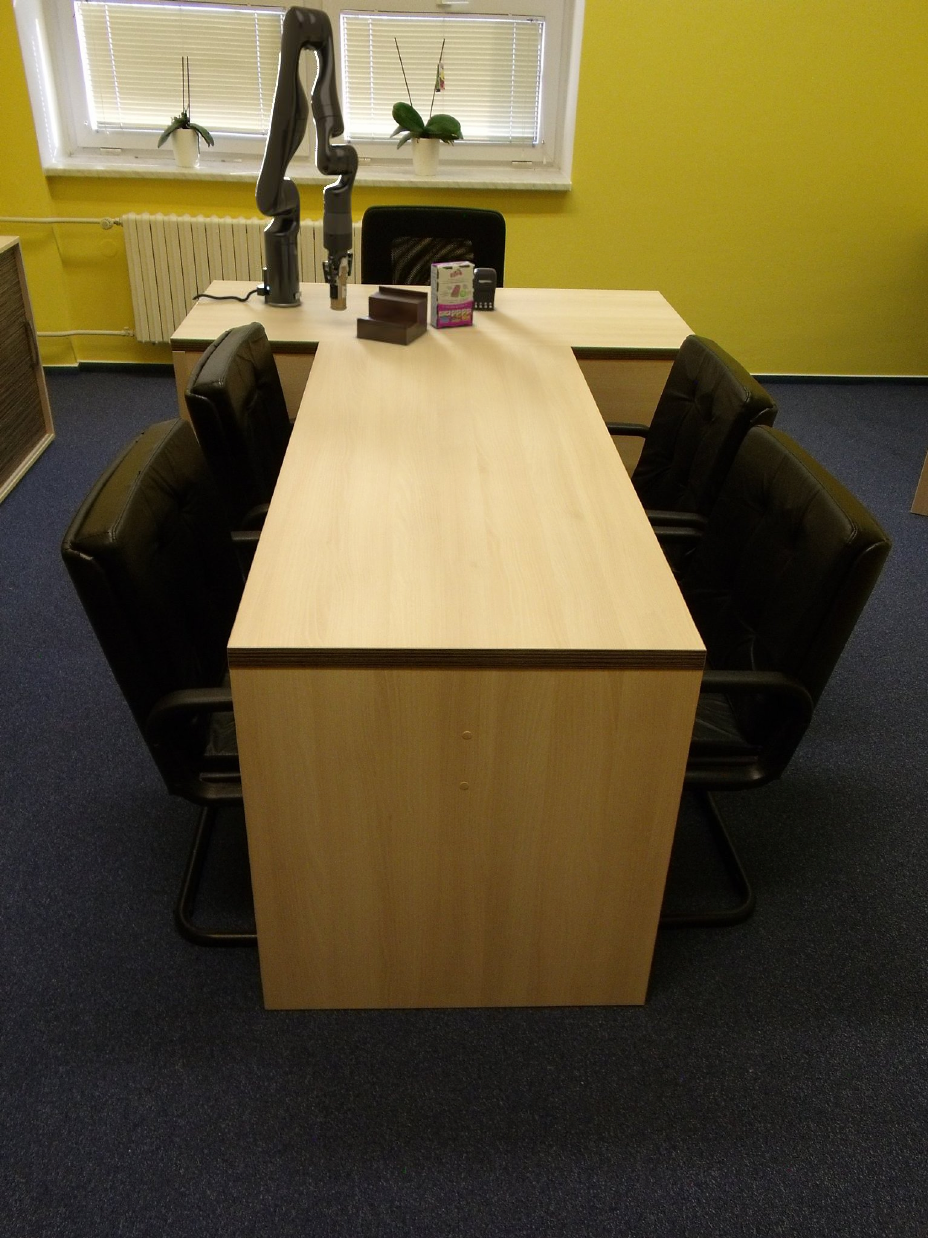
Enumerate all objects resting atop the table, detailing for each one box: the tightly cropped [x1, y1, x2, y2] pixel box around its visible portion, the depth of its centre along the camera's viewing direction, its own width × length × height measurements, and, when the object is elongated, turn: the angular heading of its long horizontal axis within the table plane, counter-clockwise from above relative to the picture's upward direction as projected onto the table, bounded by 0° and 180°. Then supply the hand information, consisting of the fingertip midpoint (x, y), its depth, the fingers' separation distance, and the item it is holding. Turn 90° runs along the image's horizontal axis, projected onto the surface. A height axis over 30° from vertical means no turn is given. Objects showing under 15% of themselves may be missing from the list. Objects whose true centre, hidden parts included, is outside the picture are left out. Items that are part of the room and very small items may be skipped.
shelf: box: [356, 285, 429, 346], centre depth 267 cm, size 14×15×10 cm
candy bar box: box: [429, 260, 476, 330], centre depth 275 cm, size 11×5×16 cm, turn 115°
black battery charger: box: [473, 267, 498, 311], centre depth 291 cm, size 7×4×11 cm, turn 95°
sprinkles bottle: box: [329, 257, 348, 312], centre depth 267 cm, size 5×5×14 cm
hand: (338, 296), depth 269 cm, fingers closed on sprinkles bottle, 4 cm apart
